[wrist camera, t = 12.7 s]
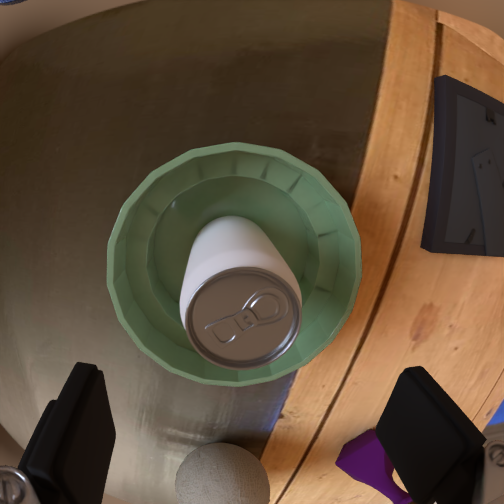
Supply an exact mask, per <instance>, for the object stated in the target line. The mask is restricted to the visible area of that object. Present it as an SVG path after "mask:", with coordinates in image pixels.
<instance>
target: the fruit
mask: <svg viewBox="0 0 504 504" xmlns="http://www.w3.org/2000/svg"><path fill="white" fill-rule="evenodd" d="M175 489H176V495H177V499H178V502H179V504H268V503H269V502H270V499H269V498H270V485H269V480H268V476H267V473H266V471H265V469H264V467H263V465H262V464H261V462H260V460H258V459H257V458H256V457H255V456H254V455H253V454H252V453H250V452H249V451H247V450H245V449H243V448H241V447H239V446H237V445H233V444H229V443H211V444H207V445H204V446H201V447H199V448H197V449H195V450H194V451H193V452H191V453H190V454H189V455H188V456H187V457H186V458H185V459H184V461H183V462H182V464H181V465H180V467H179V470H178V472H177V474H176V480H175Z"/></svg>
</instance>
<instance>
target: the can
mask: <svg viewBox="0 0 504 504" xmlns="http://www.w3.org/2000/svg"><path fill="white" fill-rule="evenodd" d="M180 315H181V320H182V323H183V326H184V328H185V330H186V333H187V336H188V339H189V341H190V343H191V344H192V346H193V347H194V349H195V350H196V351H197V352H198V353H199V354H200V355H201V356H202V357H203V358H204V359H206V360H207V361H209V362H210V363H212V364H214V365H217V366H219V367H222V368H226V369H231V370H251V369H256V368H260V367H263V366H266V365H268V364H270V363H272V362H274V361H276V360H277V359H279V358H280V357H281V356H283V355H284V354H285V353H286V352H287V351H288V350H289V349H290V348H291V346H292V345H293V343H294V342H295V340H296V338H297V336H298V334H299V331H300V328H301V323H302V297H301V291H300V288H299V285H298V282H297V280H296V278H295V276H294V274H293V273H292V271H291V269H290V268H289V266H288V265H287V263H286V262H285V261H284V259H283V258H282V256H281V255H280V253H279V252H278V251H277V249H276V248H275V246H274V245H273V244H272V242H271V241H270V239H269V238H268V237H267V235H266V234H265V233H264V232H263V230H262V229H261V228H260V227H259V226H258V225H257V224H255V223H254V222H252V221H251V220H249V219H246V218H244V217H240V216H224V217H220V218H217V219H215V220H213V221H211V222H209V223H208V224H206V225H205V226H204V227H203V228H202V229H201V230H200V232H199V233H198V234H197V236H196V238H195V240H194V243H193V246H192V249H191V253H190V256H189V260H188V264H187V268H186V272H185V276H184V281H183V285H182V290H181V295H180Z"/></svg>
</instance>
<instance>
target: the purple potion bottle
mask: <svg viewBox="0 0 504 504" xmlns="http://www.w3.org/2000/svg"><path fill="white" fill-rule="evenodd" d="M335 464H336V465H337V466H338V467H339V468H340V469H342V470H343V471H344V472H346V473H347V474H348V475H349V476H351V477H352V478H353V479H355V480H357V481H360V482H362V483H365V484H367V485H369V486H371V487H373V488H375V489H376V490H378V491H379V492H381V493H382V494H384V495H385V496H386V497H388V498H389V499H390V500H391V501H392V502H393V504H417V503H414V502H413V500H412V499H411V497H410V495H409V493H407V492H405V491H403V490H402V489H401V488H400V487H399V486H398V485H397V484H396V483H395V482H394V480H393V477H392V474H393V471H394V466H393V464H392V463H391V461H390V459H389V457H388V456H387V454H386V452H385V450H384V448H383V447H382V445H381V443H380V441H379V440H378V438H377V436H376V433H375V431H374V430H367V431H366V432H364V433H363V434H361V435H360V436H358V437H356V438H355V439H353V440H351V441H350V442H348V443H346V444H345V445H344V446H343V448H342V450H341V452H340V454H339V456H338V458H337V460H336V462H335Z"/></svg>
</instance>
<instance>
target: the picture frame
mask: <svg viewBox="0 0 504 504" xmlns="http://www.w3.org/2000/svg"><path fill="white" fill-rule="evenodd" d="M434 85H435V109H434V138H433V154H432V166H431V177H430V186H429V195H428V202H427V210H426V217H425V223H424V229H423V235H422V241H421V246H420V247H421V248H423V249H425V250H427V251H429V252H431V253H447V254H463V255H479V256H494V257H504V103H502V102H500V101H498V100H496V99H495V98H493V97H491V96H489V95H487V94H485V93H483V92H481V91H479V90H477V89H475V88H473V87H471V86H469V85H467V84H465V83H463V82H461V81H458V80H456V79H454V78H452V77H450V76H447V75H443V76H439V77H436V78H434Z"/></svg>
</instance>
